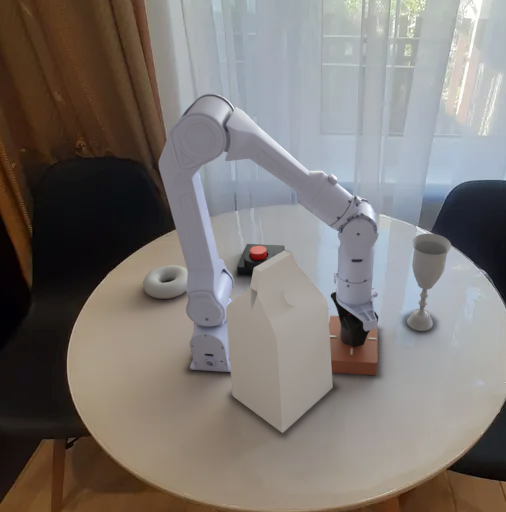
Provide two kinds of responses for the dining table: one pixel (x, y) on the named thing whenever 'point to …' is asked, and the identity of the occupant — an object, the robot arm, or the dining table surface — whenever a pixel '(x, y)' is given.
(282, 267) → the milk
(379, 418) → the dining table surface
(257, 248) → the button
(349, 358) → the timer panel
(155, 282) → the donut
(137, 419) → the dining table surface
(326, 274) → the dining table surface
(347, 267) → the robot arm
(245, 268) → the control box
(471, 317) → the dining table surface
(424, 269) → the chalice
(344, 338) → the timer knob
